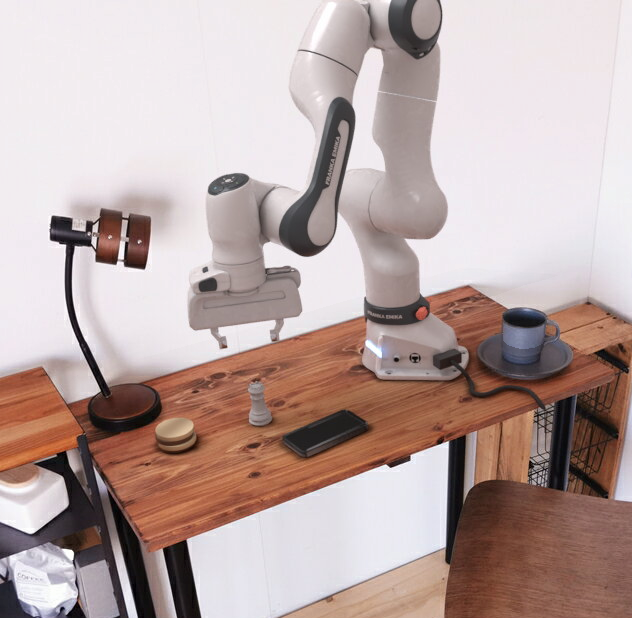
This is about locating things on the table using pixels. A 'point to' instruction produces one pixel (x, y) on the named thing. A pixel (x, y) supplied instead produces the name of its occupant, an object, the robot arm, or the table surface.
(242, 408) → the table surface
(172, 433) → the chip pile
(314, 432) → the phone
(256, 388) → the rook chess piece
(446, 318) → the table surface
